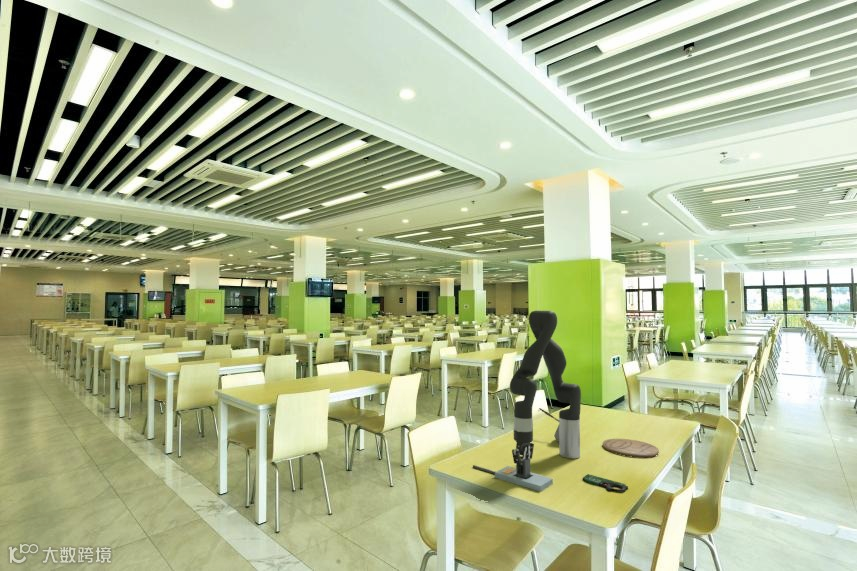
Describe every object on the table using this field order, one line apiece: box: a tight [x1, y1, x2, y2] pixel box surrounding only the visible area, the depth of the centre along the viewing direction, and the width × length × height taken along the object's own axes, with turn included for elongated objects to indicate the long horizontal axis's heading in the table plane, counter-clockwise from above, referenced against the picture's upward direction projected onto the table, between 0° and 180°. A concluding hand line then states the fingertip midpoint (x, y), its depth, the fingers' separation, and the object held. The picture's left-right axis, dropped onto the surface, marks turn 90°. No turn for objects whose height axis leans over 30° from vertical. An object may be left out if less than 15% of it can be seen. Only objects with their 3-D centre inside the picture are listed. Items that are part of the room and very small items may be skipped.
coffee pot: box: [537, 408, 559, 443], centre depth 223 cm, size 21×12×15 cm, turn 46°
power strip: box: [472, 464, 554, 493], centre depth 172 cm, size 10×33×2 cm, turn 48°
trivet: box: [602, 438, 660, 459], centre depth 209 cm, size 25×25×2 cm
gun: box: [582, 473, 629, 494], centre depth 165 cm, size 16×2×10 cm
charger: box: [515, 458, 531, 480], centre depth 168 cm, size 4×4×8 cm
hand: (523, 472), depth 168 cm, fingers closed on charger, 4 cm apart
